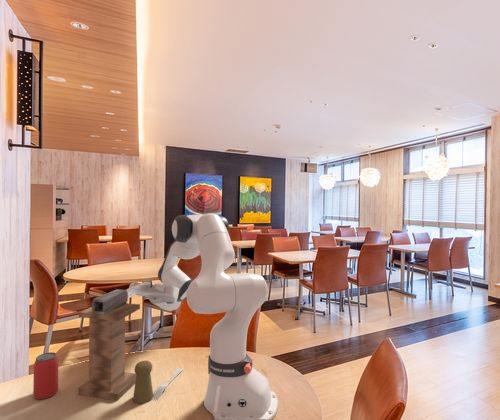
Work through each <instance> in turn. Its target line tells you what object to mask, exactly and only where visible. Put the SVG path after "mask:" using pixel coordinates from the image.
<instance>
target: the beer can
mask: <svg viewBox="0 0 500 420" xmlns="http://www.w3.org/2000/svg"><path fill="white" fill-rule="evenodd" d="M57 354H58V353H56V352H54V351H53V352H50V351H49V352H44V353H41V354H38V356H36V357H35V361H34V363H33V382H32V383H33V389H32V390H33V391H32V392H33V393H32V394H33V398H34V399H37V400H45V399H49V398H51V397H53V396H54V395H56V394H57V393H58V391H59V358H58V356H57Z"/></svg>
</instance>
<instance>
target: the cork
mask: <svg viewBox="0 0 500 420" xmlns="http://www.w3.org/2000/svg"><path fill="white" fill-rule="evenodd" d="M152 371H153V364H152V363H151V361H149V360H141V361H138V362H137V363H136V364H135V366H134V373H135V374H136V382H135V384H134V391H133V397H132V401H133V403H134V404H138V405H143V404H147V403H149V402H151V401H153V400H152V398H153V395H154V391H153V381H152V374H151V373H152ZM153 399H154V398H153Z"/></svg>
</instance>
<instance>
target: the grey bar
mask: <svg viewBox="0 0 500 420" xmlns="http://www.w3.org/2000/svg"><path fill="white" fill-rule="evenodd" d="M152 285H153V281H151V280H145V281H142V282H141V283H138V285H136V286H133V287H131V288H129V287H128V288H127V289H125V290H127V292H128V299H130V298H132V297H134V296H138V295H137V294H139V293H141V292H143V291H145V290H147V289H149V288H151V287H152Z"/></svg>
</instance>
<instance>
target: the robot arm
mask: <svg viewBox="0 0 500 420" xmlns="http://www.w3.org/2000/svg"><path fill="white" fill-rule="evenodd" d="M171 233H172V236H173V239H174V241H173V242H172V243H171V244H170V245H169V247H168V249H167V252H166V255H165V257H164V259H163V262H162V265H161V266H160V267H159V269H158V273H157V279H158V280H159V281H160V282H161V283H155V284H152V287H151V288H149V289H147V290H145V291H143V292H141V293H139V294H137V295H136V296H139V297H147V298H148V300H149V301H150V303H152V304H153V305H155V306H157V307H159V308H160V309H163V310H165V311H169V312H170V311H171V312H172V311H175V310H177V309H178V308H179V307H180V306H181V304H182V303H181V302H182V301H184V300H186V302H187V305H188V307H189V309H190V310H191V311H192V312H194V313H195V314H202V315H203V314H204V315H213V314H219V313H225V315H224V316H223V317H222V318H221V320H219V321H218V322H216V323H215V324H214V326H212V329H211V331H210V334H209V335H210V336H209V337H210V338H209V339H210V340H209V355H208V360H207V371H208V383H207V387H206V394H205V398H204V399H203V400H204V401H203V405H204V408H205V409H206V410H207V411H208V412H209V413H210V414H212V416H213V418H214V420H273V419H274V417H276V416H275V415H276V414H277V411H278V407H279V406H278V405H279V400H278V396H277V394H276V392H275V391H273V390H271V388H270V383H269V380H268V379H267V377H266V376H264V375H263V374H262V373H260V372H259V371H258V370H256V369H255V368H254V367H253V358H254V357H253V355H251V356H249V355H248V353H247V338H248V337H247V336H248V331H249V330H248V329H249V326H250V324H251V321H252V318H253V317H254V316H255V313H256V311H257V310H258V309H259V308H260V307H261V306H262V305H263V304H264V303H265V301H266V300H267V297H268V292H269V287H268V284H267V280H266V279H265V278H264V277H263V275H261V274H257V273H252V272H242V273H241V272H240V273H239V272H238V273H229V274H228V273H225V270H227V269H228V268H229V267H230V266H231V265H232V264H233V263H234V262H235V258H236V253H235V250H234V245H233V243H232V240H231V236H230V224H229V221H228V219H227V218H226V217H224V216H222V215H218V214H216V213H213V212H210V213H205V214H201V213H199V214H188V215H187V214H182V215H181V214H180V215H178V216H176V217H175V218H174V219H173V222H172V225H171ZM199 255H200V258H201V268H200V271H199V274H197V276H196V277H195V279H193V280H192V279H191V278H190V277H189V276H188V275H187V274H186V273H185V272H184V271H182V270H181V269H180V268H179V267H178V265H177V261H178V259H182V260H191V259H194V258H197V257H198V256H199ZM138 284H139V283H138V282H132V283H130V284H129V287H128V289H129V288H131V287H133V286H136V285H138Z"/></svg>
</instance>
